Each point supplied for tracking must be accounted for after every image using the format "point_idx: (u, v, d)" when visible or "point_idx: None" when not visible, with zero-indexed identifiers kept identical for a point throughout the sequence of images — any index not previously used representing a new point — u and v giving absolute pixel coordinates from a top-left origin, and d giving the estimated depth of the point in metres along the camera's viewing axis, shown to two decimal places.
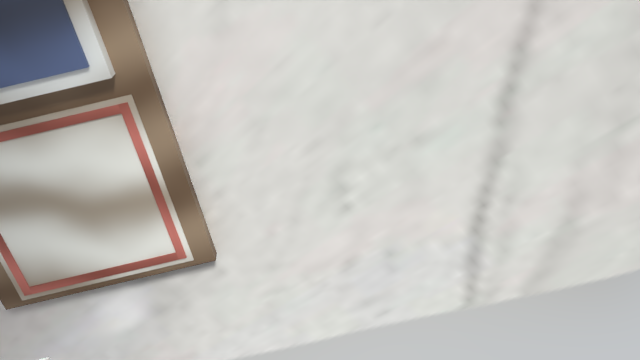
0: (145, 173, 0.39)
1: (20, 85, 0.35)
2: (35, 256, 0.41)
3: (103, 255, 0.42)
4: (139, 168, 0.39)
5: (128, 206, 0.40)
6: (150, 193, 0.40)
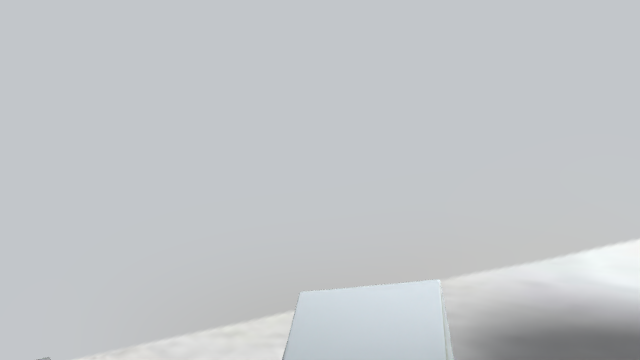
0: None
1: None
2: None
3: None
4: None
5: None
6: None
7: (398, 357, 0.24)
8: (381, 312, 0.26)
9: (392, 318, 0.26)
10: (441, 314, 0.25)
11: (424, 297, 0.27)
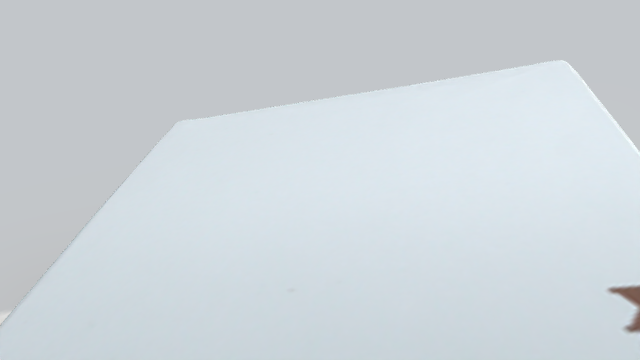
0: None
1: None
2: None
3: None
4: None
5: None
6: None
7: (476, 236, 0.06)
8: (397, 128, 0.08)
9: (436, 137, 0.08)
10: (608, 116, 0.07)
11: (532, 90, 0.08)
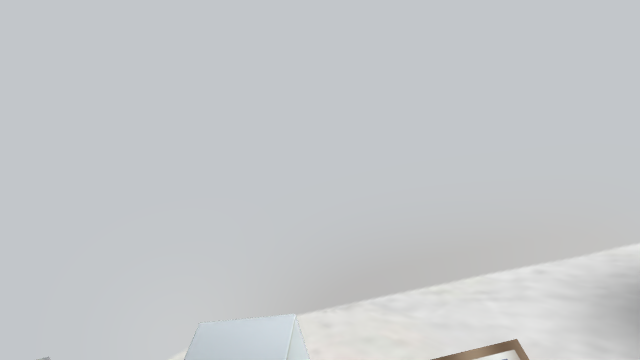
0: None
1: None
2: None
3: None
4: None
5: None
6: None
7: None
8: (250, 338, 0.38)
9: (256, 342, 0.37)
10: (289, 339, 0.37)
11: (281, 327, 0.38)
